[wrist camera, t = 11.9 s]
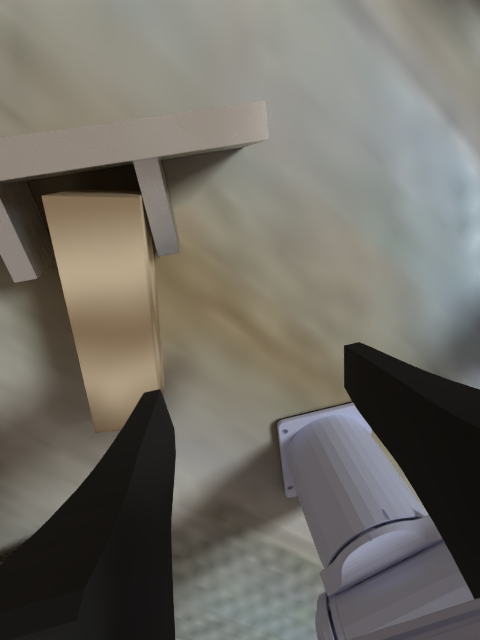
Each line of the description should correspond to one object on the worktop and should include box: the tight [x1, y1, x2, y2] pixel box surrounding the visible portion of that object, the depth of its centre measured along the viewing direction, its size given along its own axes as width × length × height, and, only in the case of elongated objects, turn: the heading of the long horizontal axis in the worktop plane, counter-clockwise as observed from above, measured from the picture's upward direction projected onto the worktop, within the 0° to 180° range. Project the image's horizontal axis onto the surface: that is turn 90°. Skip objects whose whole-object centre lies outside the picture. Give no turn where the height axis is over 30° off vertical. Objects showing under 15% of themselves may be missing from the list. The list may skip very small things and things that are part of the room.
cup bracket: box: [0, 101, 269, 283], centre depth 14 cm, size 16×5×5 cm, turn 98°
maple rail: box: [42, 189, 165, 433], centre depth 17 cm, size 12×4×4 cm, turn 178°
